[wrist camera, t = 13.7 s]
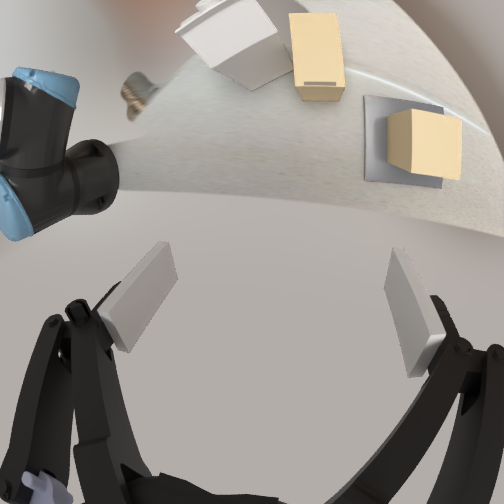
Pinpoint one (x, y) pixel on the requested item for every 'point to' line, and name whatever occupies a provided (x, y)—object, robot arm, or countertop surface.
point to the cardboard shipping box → (317, 56)
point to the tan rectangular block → (425, 143)
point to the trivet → (377, 142)
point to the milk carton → (237, 41)
